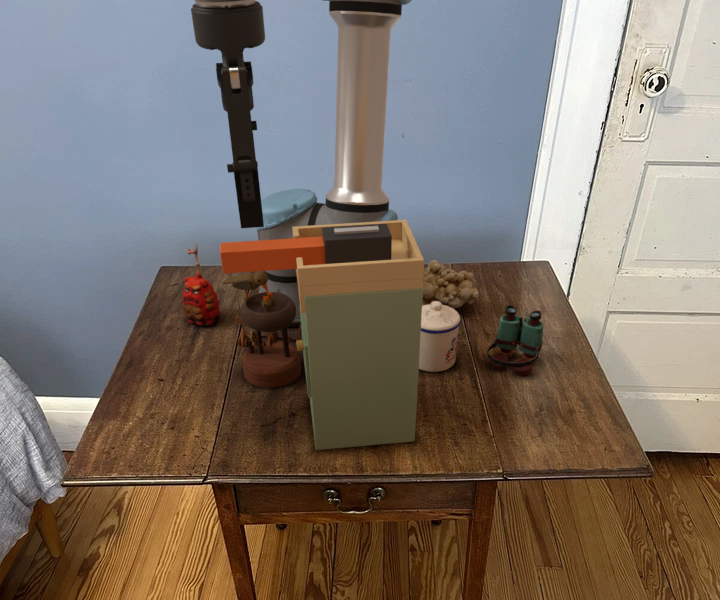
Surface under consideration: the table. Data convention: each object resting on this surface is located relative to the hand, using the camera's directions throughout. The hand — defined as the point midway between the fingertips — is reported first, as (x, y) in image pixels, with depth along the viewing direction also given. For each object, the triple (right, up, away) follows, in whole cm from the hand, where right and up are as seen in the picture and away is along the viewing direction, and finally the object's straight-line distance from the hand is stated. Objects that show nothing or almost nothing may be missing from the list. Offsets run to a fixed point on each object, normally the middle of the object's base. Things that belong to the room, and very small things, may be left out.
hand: (250, 205), depth 86 cm
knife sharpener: (+6, -5, +9) cm, 12 cm away
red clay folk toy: (-18, -2, +54) cm, 57 cm away
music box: (-1, -15, +39) cm, 42 cm away
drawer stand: (+14, -24, +28) cm, 40 cm away
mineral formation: (+31, +1, +56) cm, 64 cm away
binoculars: (+42, -14, +39) cm, 59 cm away
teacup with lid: (+28, -11, +42) cm, 52 cm away
